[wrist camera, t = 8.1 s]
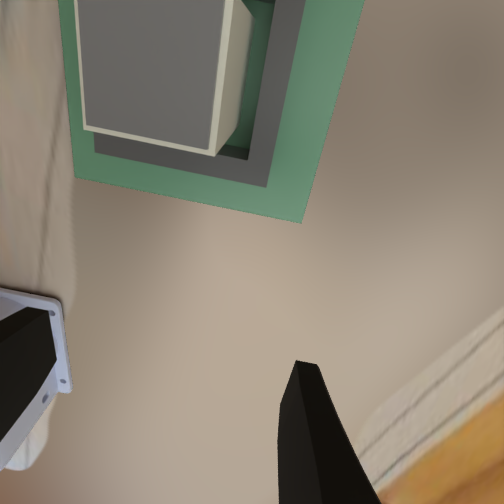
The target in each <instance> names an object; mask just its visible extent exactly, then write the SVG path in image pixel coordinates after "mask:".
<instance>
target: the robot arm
mask: <svg viewBox="0 0 504 504" xmlns="http://www.w3.org/2000/svg"><path fill="white" fill-rule="evenodd" d="M72 389H73V383H72V376H71V369H70V362H69V356H68V349H67V342H66V335H65V328H64V321H63V314H62V307H61V304H60V302H59V301H58V300H56V299H54V298H49V297H44V296H39V295H34V294H29V293H24V292H19V291H14V290H9V289H4V288H0V471H1V470H2V469H3V468H4V467H5V466H6V465H7V463H8V462H9V461H10V460H11V458H12V457H13V455H14V454H15V452H16V451H17V449H18V448H19V447H20V445H21V444H22V442H23V441H24V439H25V438H26V437H27V435H28V434H29V432H30V431H31V429H32V428H33V427H34V425H35V424H36V422H37V421H38V419H39V418H40V416H41V415H42V414H43V412H44V411H45V409H46V408H47V406H48V405H49V404H50V402H51V401H52V399H53V398H54V396H55V395H56V394H57V392H62V393H70V392H71V390H72ZM277 442H278V443H277V444H278V486H279V504H381V502H380V500H379V498H378V496H377V495H376V493H375V491H374V489H373V487H372V485H371V483H370V481H369V480H368V478H367V476H366V474H365V472H364V470H363V468H362V466H361V464H360V462H359V460H358V458H357V456H356V454H355V452H354V450H353V447H352V445H351V443H350V441H349V439H348V437H347V435H346V432H345V430H344V428H343V426H342V424H341V421H340V419H339V417H338V415H337V412H336V410H335V407H334V405H333V403H332V400H331V398H330V395H329V393H328V390H327V388H326V385H325V382H324V380H323V377H322V374H321V372H320V369H319V367H318V366H317V364H312V363H307V362H302V361H297V360H296V361H295V364H294V367H293V370H292V373H291V375H290V378H289V381H288V384H287V387H286V390H285V393H284V395H283V398H282V401H281V403H280V413H279V426H278V440H277Z"/></svg>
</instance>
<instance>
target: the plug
mask: <svg viewBox="0 0 504 504" xmlns="http://www.w3.org/2000/svg"><path fill="white" fill-rule="evenodd" d="M74 8H75V21H76V35H77V48H78V62H79V75H80V88H81V102H82V115H83V129H84V130H88V131H93V132H98V133H103V134H108V135H113V136H117V137H122V138H127V139H132V140H137V141H142V142H146V143H151V144H156V145H161V146H166V147H171V148H175V149H180V150H185V151H190V152H195V153H200V154H204V155H209V156H214V157H215V155H216V154H217V153H218V151H219V150H220V149H221V148H222V146H223V145H224V144H225V142H226V141H227V140H228V139H229V137H230V136H231V135H232V133H233V132H234V131H235V129H236V128H237V127H238V126H239V124H240V117H241V111H242V104H243V98H244V91H245V85H246V78H247V72H248V65H249V59H250V52H251V45H252V39H253V32H254V26H255V18H254V17H253V16H252V14H251V13H250V12H249V10H248V9H247V7H246V6H245V5H244V3H243V2H242V1H241V0H74Z"/></svg>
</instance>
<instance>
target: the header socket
mask: <svg viewBox="0 0 504 504" xmlns="http://www.w3.org/2000/svg"><path fill="white" fill-rule="evenodd" d="M241 1H242V2H243V3H244V5H245V6H246V7H247V9H248V10H249V12H250V13H251V14H252V16H253V17H254V18H255V26H254V32H253V39H252V45H251V52H250V59H249V65H248V72H247V78H246V85H245V91H244V98H243V104H242V111H241V117H240V124H239V126H238V127H237V128H236V129H235V131H234V132H233V133H232V135H231V136H230V137H229V139H228V140H227V141H226V142H225V144H224V145H223V146H222V148H221V149H220V150H219V151H218V153H217V154H216V155H215V157H214V156H209V155H204V154H200V153H195V152H190V151H185V150H180V149H175V148H171V147H166V146H161V145H156V144H151V143H146V142H142V141H137V140H132V139H127V138H122V137H117V136H113V135H108V134H103V133H98V132H93V131H88V130H84V129H83V115H82V102H81V88H80V75H79V62H78V48H77V35H76V21H75V8H74V0H58V5H59V15H60V26H61V36H62V47H63V57H64V68H65V79H66V89H67V100H68V110H69V121H70V131H71V142H72V152H73V163H74V174H75V177H76V178H81V179H86V180H91V181H96V182H100V183H106V184H110V185H115V186H120V187H126V188H130V189H135V190H140V191H145V192H150V193H154V194H159V195H164V196H169V197H174V198H179V199H184V200H188V201H193V202H198V203H203V204H208V205H213V206H218V207H223V208H228V209H233V210H238V211H243V212H247V213H252V214H257V215H262V216H267V217H272V218H276V219H281V220H287V221H291V222H296V223H302V219H303V216H304V213H305V209H306V206H307V202H308V199H309V195H310V191H311V188H312V184H313V181H314V177H315V174H316V170H317V167H318V163H319V159H320V156H321V153H322V149H323V145H324V142H325V138H326V135H327V131H328V128H329V124H330V121H331V117H332V114H333V110H334V107H335V103H336V100H337V96H338V92H339V89H340V85H341V82H342V78H343V75H344V71H345V67H346V64H347V61H348V57H349V54H350V50H351V46H352V43H353V40H354V36H355V32H356V29H357V25H358V22H359V18H360V15H361V11H362V8H363V4H364V1H365V0H241Z"/></svg>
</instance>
